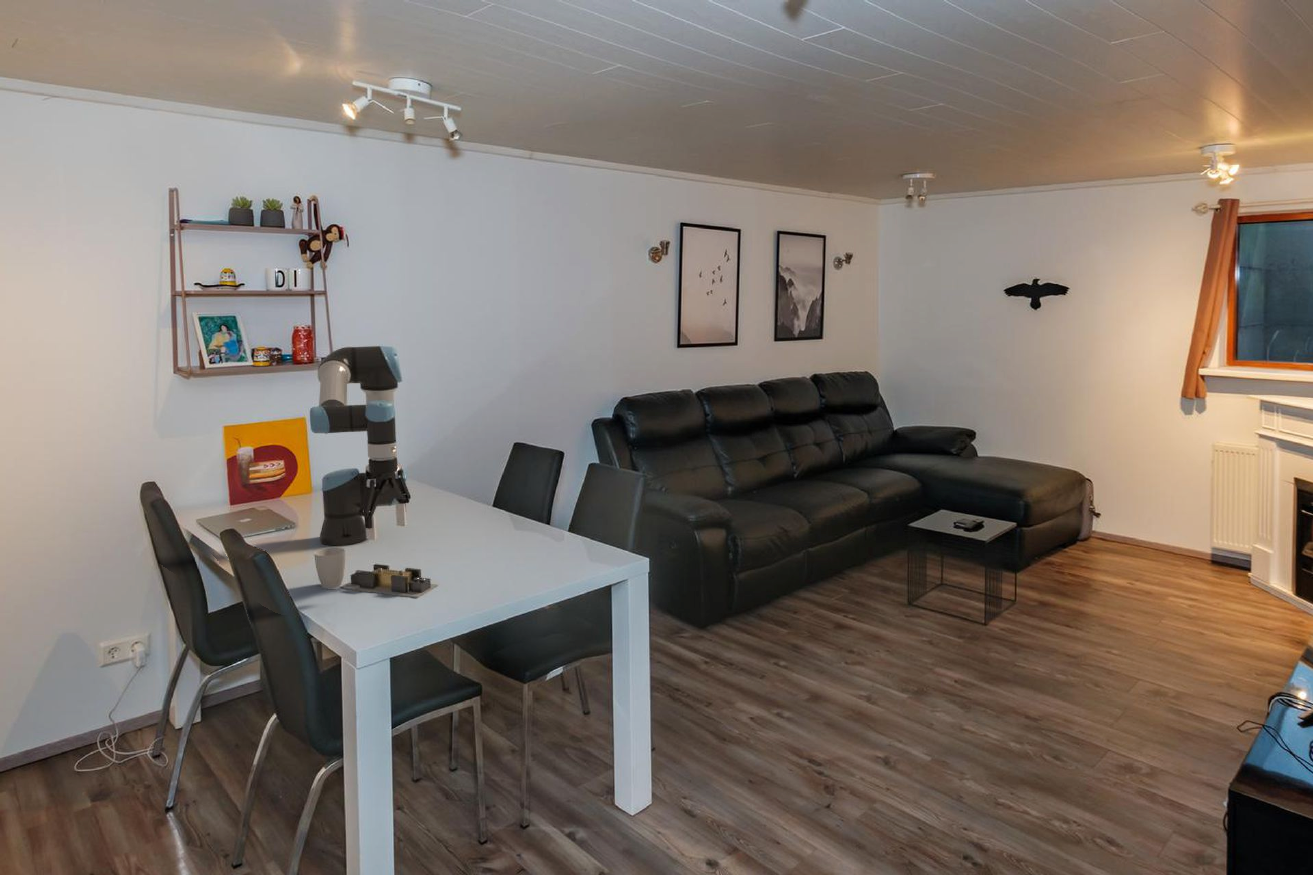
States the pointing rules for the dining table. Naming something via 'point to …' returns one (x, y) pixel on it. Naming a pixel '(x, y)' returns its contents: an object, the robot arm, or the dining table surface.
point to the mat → (389, 590)
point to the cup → (330, 566)
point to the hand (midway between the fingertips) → (387, 532)
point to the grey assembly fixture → (393, 580)
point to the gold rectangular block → (389, 577)
